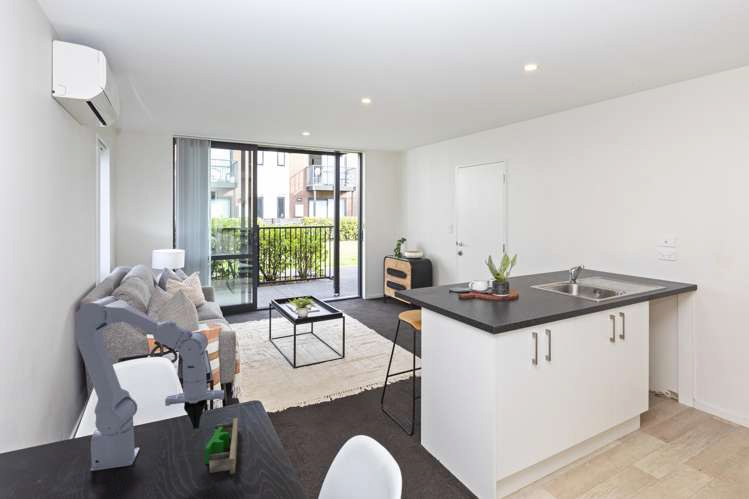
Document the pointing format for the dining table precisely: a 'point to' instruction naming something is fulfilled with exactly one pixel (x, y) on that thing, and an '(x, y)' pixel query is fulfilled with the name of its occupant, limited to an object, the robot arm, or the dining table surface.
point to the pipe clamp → (217, 444)
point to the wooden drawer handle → (228, 458)
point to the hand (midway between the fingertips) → (196, 427)
